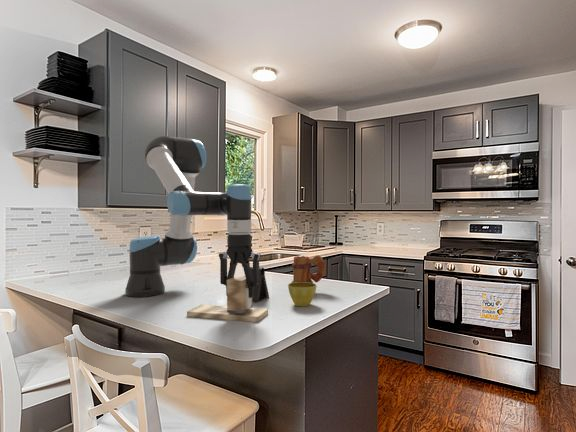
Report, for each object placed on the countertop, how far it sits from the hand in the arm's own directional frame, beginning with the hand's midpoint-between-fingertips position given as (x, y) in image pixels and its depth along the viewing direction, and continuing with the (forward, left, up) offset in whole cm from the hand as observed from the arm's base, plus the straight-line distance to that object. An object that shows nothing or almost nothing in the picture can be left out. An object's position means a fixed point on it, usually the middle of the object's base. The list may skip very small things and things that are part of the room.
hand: (240, 307), depth 112 cm
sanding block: (0, 0, -1) cm, 1 cm away
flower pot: (+16, +19, -3) cm, 25 cm away
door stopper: (-3, +23, -3) cm, 23 cm away
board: (-4, 0, -3) cm, 5 cm away
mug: (+13, +41, -3) cm, 43 cm away
